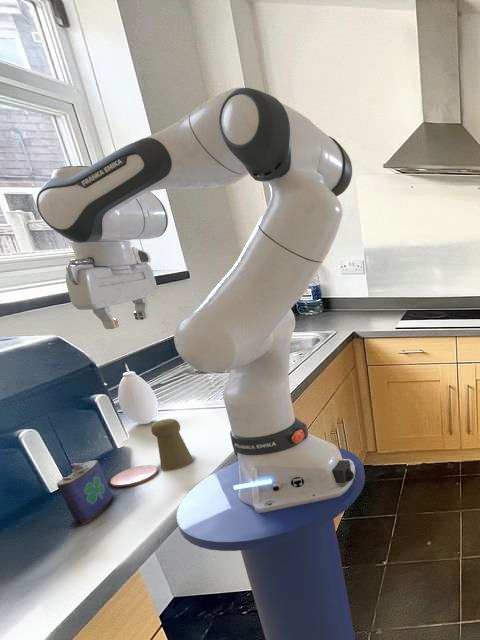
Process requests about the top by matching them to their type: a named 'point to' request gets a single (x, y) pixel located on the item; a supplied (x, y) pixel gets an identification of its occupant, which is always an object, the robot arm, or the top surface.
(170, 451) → the cork
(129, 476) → the coaster
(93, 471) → the flask
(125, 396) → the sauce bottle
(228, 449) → the top surface
